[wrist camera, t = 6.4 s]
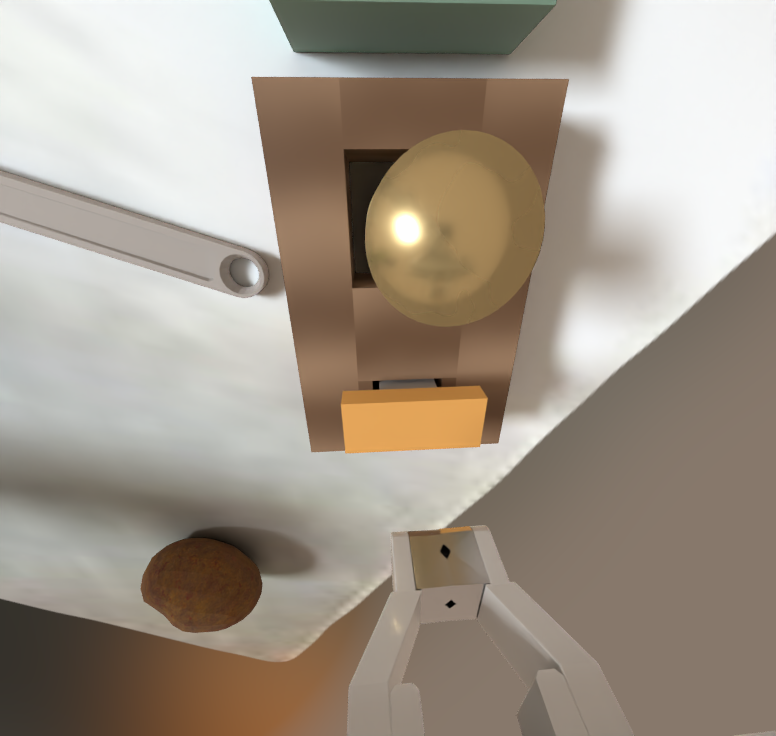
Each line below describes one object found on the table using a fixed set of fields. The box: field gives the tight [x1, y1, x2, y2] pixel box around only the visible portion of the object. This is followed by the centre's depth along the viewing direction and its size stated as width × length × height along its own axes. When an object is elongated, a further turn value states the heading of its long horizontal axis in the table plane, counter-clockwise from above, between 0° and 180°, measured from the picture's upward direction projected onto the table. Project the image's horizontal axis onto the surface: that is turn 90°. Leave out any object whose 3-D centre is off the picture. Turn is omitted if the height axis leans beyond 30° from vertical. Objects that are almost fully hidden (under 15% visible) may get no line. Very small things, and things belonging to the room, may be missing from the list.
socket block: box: [251, 77, 569, 452], centre depth 18 cm, size 18×12×4 cm, turn 1°
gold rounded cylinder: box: [365, 130, 545, 327], centre depth 12 cm, size 4×4×12 cm
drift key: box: [341, 379, 488, 453], centre depth 18 cm, size 3×7×6 cm, turn 90°
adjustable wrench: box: [0, 170, 269, 298], centre depth 16 cm, size 25×6×2 cm, turn 66°
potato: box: [141, 538, 262, 633], centre depth 27 cm, size 7×10×6 cm
